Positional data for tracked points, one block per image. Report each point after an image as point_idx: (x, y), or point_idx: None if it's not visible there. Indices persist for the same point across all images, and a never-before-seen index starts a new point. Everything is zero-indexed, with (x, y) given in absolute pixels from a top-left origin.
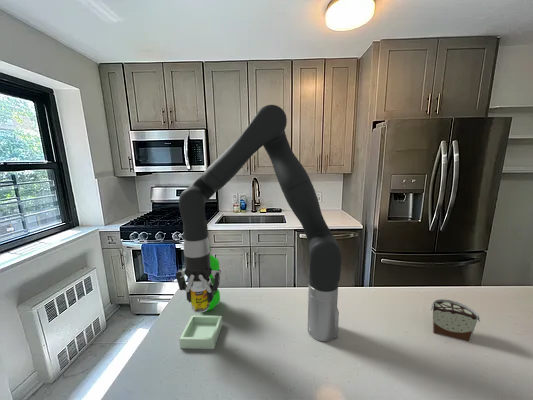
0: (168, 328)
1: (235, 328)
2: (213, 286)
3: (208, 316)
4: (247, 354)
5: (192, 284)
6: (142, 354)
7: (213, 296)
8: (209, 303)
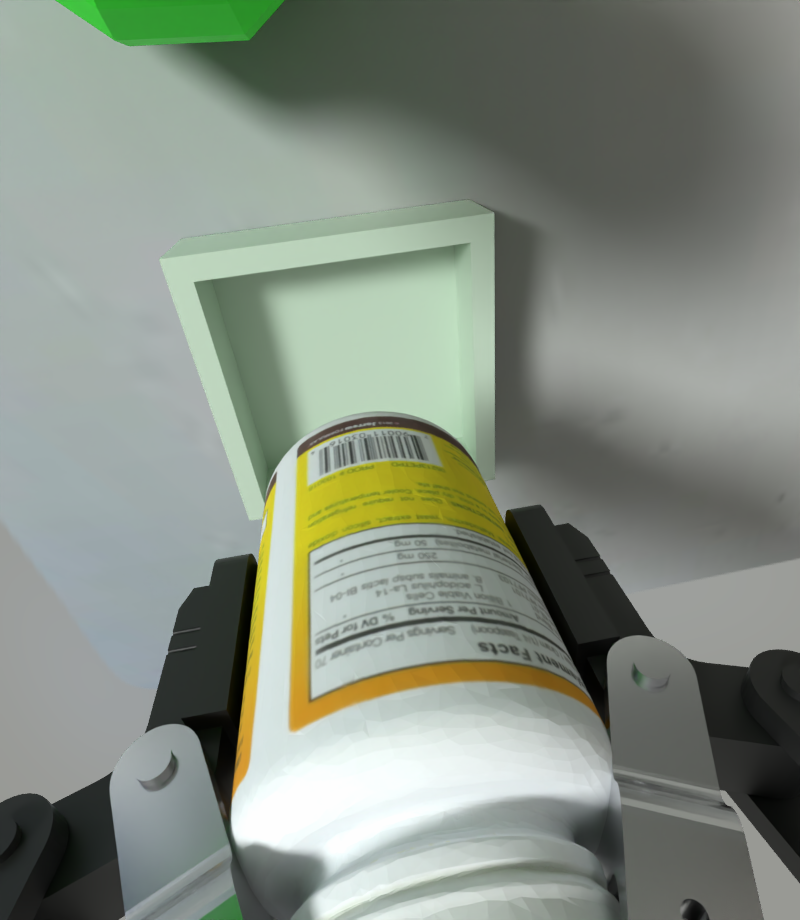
0: (2, 334)
1: (593, 232)
2: (738, 781)
3: (353, 245)
4: (673, 433)
5: (273, 907)
6: (56, 552)
7: (593, 554)
8: (269, 9)
